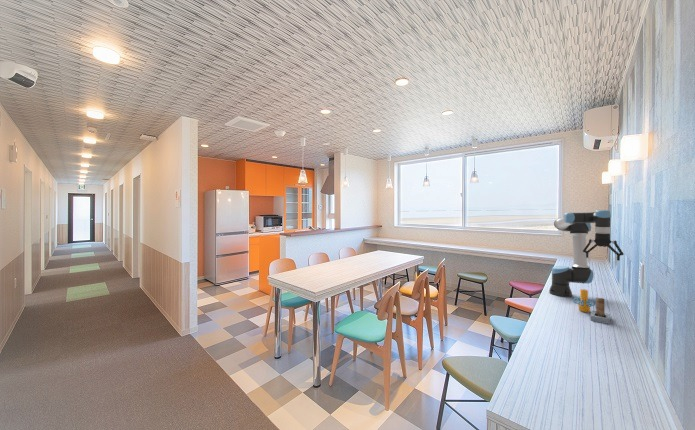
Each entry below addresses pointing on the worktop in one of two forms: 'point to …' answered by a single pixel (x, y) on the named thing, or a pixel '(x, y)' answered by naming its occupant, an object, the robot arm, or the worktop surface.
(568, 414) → the worktop surface
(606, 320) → the socket plate
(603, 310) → the peg
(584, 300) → the yellow and blue toy
